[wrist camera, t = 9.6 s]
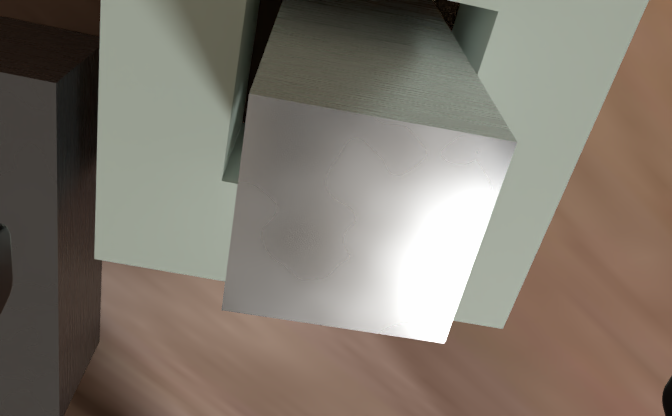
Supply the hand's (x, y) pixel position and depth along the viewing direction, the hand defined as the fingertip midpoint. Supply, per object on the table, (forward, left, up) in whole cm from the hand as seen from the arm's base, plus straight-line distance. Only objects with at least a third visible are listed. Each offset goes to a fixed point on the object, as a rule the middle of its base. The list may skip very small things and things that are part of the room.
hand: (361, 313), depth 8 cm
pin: (0, 0, -12) cm, 12 cm away
